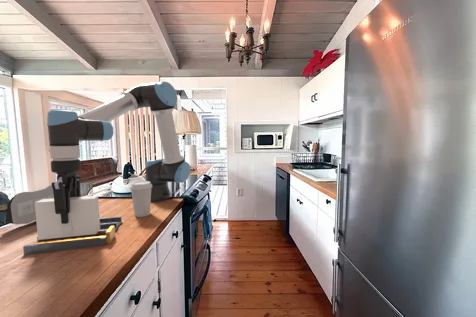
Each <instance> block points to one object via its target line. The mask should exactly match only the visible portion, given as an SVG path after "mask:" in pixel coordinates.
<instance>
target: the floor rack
mask: <svg viewBox="0 0 476 317" xmlns="http://www.w3.org/2000/svg"><path fill="white" fill-rule="evenodd" d="M122 222H123V221H122V216H121V215H120V216H119V215H118V216H110V217H109V216H108V217H100V230H99V231H98V232H97V233H96V234H91V235H81V236H71V237H62V238H52V239H42V240H38V236H37V237H36V242H35V243H33V244H27V245H26V244H25V245H24V246H23V256H26V255H34V254H43V253H50V252H61V251H68V250H77V249H85V248H93V247H94V248H95V247H102V246H106V245H109V244H111V243H112V242H113V240H114V239H115V237H116V231H117V229H118V228H119V227H120V225H121V224H122Z"/></svg>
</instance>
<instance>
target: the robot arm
mask: <svg viewBox="0 0 476 317" xmlns="http://www.w3.org/2000/svg"><path fill="white" fill-rule="evenodd" d="M177 94H178V93H177V91H176V89H175V88H174V86H173V85H172V83H170V82H167V81H155V82H154V81H153V82H148V83H147V82H146V83H140V84H137V85H136V86H133V87H131V88H129V89H127V90H125V91H123V92H121V93H120V96H118V97H116V98H113V99H111V100H109V101H107V102H105V103H102V104H100V105H98V106H96V107H94V108H92V109H90V110H87V111H86V112H83V113H82V114H79V115H78V113H77V112H76V111H71V110H65V109H51V110H49V111H48V112H47V119H46V120H47V124H46V125H47V133H48V134H47V135H48V142H49V143H48V144H49V149H48V152H49V156H50V157H49V158H50V159H52V160H51V161H50V170H51V173H54V174H55V173H56V175H57V176H56V181H55V182H51V183H50V184H51V185H50V186H52V188H53V194H54V204H55V213H56V214H60V218H61V232H62V233H71V232H73V230H72V215H71V212H70V197H82V194H81V175H77V172H79V171H81V168H82V167H81V166H82V165H81V159H80V158H81V149H80V147H81V145H80V141H81V142H83V141H86V142H87V141H88V142H89V141H90V142H91V141H92V142H93V141H94V142H98V141H100V142H103V141H110V140H111V139H112V138H113V136H114V134H115V133H114V127H113V125H112V123H111V122H112V121H114V120H116V119H117V118H119V117H121V116H123V115H125V114H126V113H128V112H130V111H132V112H133V111H136V110H138V109H141V108H149V109H150V112H151V113H153V114H154V117H155V122H156V125H157V129H158V131H157V132H158V134H159V139H160V143H161V148H162V152H163V157H164V158H159V159H152V160H147V161H146V162H145V167H144V168H145V181H149V182H150V183H151V184H152V187H151V202H161V201H166V200H169V199H170V198H171V197H172V195H171V194H172V193H171V190H170V188H169V185H168V183H176V184H178V183H179V184H180V183H185V182H186V181H187V180H188V179H189V177H190V175H191V174H190V173H191V166H190V163H188V162H187V161H186V160H185V157H184V156H183V155H182V154H181V151H180V146H179V140H178V135H177V130H176V125H175V120H174V115H173V111H174V109H175V105H176V104H177V103H178V102H177V100H178V95H177ZM168 198H169V199H168Z"/></svg>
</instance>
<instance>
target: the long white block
mask: <svg viewBox="0 0 476 317" xmlns="http://www.w3.org/2000/svg"><path fill="white" fill-rule="evenodd" d="M99 203H100V202H99V195H91V196H90V195H87V196H81V197H70V212H71V215H72V230H73V232H71V233H62V232H61V218H60V214H56V213H55V204H54V198H52V199H42V200H39V201H37V202H35V211H36V220H35V221H36V234H37V237H38V240H42V239H52V238H62V237H71V236H81V235H91V234H96V233H97V232H98V231H99V230H100V218H101V217H100V205H99Z"/></svg>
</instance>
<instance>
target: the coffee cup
mask: <svg viewBox="0 0 476 317" xmlns="http://www.w3.org/2000/svg"><path fill="white" fill-rule="evenodd" d="M151 187H152V184H151V183H150V182H149V181H146V180H144V181H143V180H140V181H134V182H132V183H131V185H130V186H129V190H130V191H131V197H132V203H133V204H132V206H133V212H134V216H135V217H136V218H142V217H143V218H144V217H148V216H149V215H150V214H151V202H152V201H151Z"/></svg>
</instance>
